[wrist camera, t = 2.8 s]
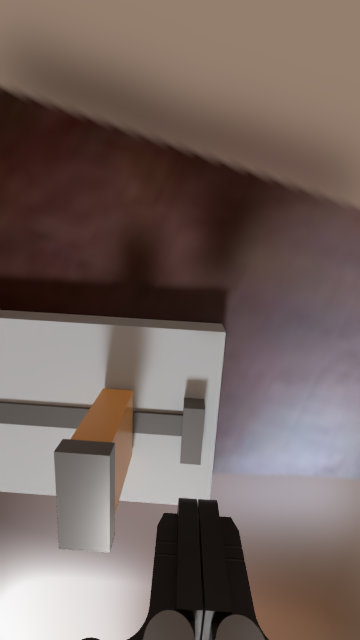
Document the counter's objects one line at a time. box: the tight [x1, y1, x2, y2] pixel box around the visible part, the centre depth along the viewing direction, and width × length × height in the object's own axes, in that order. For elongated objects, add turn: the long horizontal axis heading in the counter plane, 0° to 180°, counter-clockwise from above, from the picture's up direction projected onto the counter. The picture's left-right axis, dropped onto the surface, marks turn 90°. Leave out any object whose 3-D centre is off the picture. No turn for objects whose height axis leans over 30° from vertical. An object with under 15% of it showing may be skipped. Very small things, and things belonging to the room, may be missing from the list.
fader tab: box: [54, 388, 133, 553], centre depth 15 cm, size 2×5×6 cm, turn 177°
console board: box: [0, 310, 226, 505], centre depth 18 cm, size 24×12×3 cm, turn 87°
